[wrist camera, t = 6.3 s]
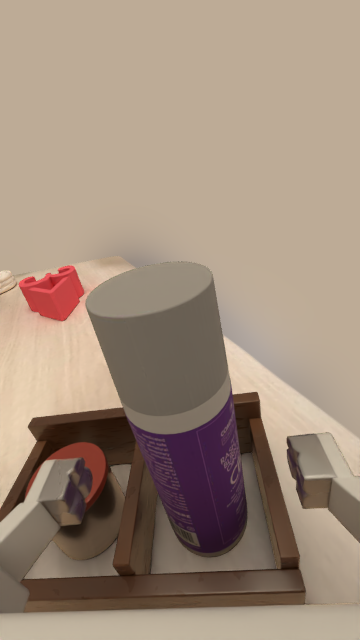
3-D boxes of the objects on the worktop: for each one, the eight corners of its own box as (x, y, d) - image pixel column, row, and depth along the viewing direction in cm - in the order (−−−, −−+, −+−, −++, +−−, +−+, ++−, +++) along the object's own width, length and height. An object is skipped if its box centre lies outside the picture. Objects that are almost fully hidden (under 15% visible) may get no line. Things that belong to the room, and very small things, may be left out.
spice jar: (140, 492, 19) (120, 450, 16) (101, 575, 15) (69, 536, 13) (87, 475, 20) (64, 435, 18) (42, 545, 17) (5, 506, 15)
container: (260, 546, 15) (234, 296, 8) (174, 566, 15) (65, 334, 8) (234, 465, 19) (202, 252, 12) (167, 480, 19) (93, 276, 12)
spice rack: (304, 613, 12) (308, 566, 10) (-8, 620, 14) (-68, 582, 12) (260, 441, 20) (257, 391, 18) (60, 460, 22) (32, 417, 20)
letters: (93, 309, 46) (82, 282, 44) (29, 332, 44) (14, 304, 41) (81, 286, 58) (72, 263, 56) (31, 303, 55) (19, 280, 53)
